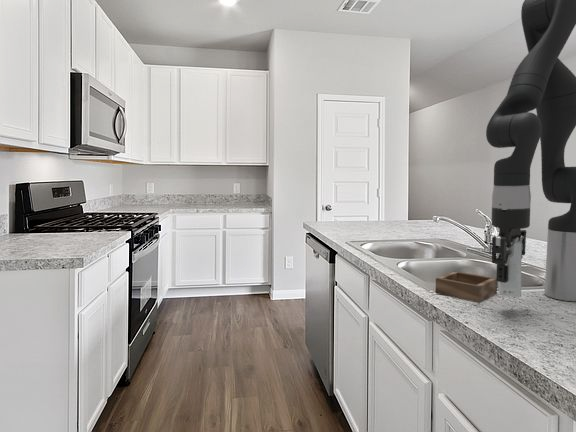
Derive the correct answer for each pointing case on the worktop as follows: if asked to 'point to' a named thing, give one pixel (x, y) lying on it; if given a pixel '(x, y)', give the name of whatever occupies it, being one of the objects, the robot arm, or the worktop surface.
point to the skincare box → (512, 274)
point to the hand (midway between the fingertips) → (508, 278)
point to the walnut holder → (466, 286)
